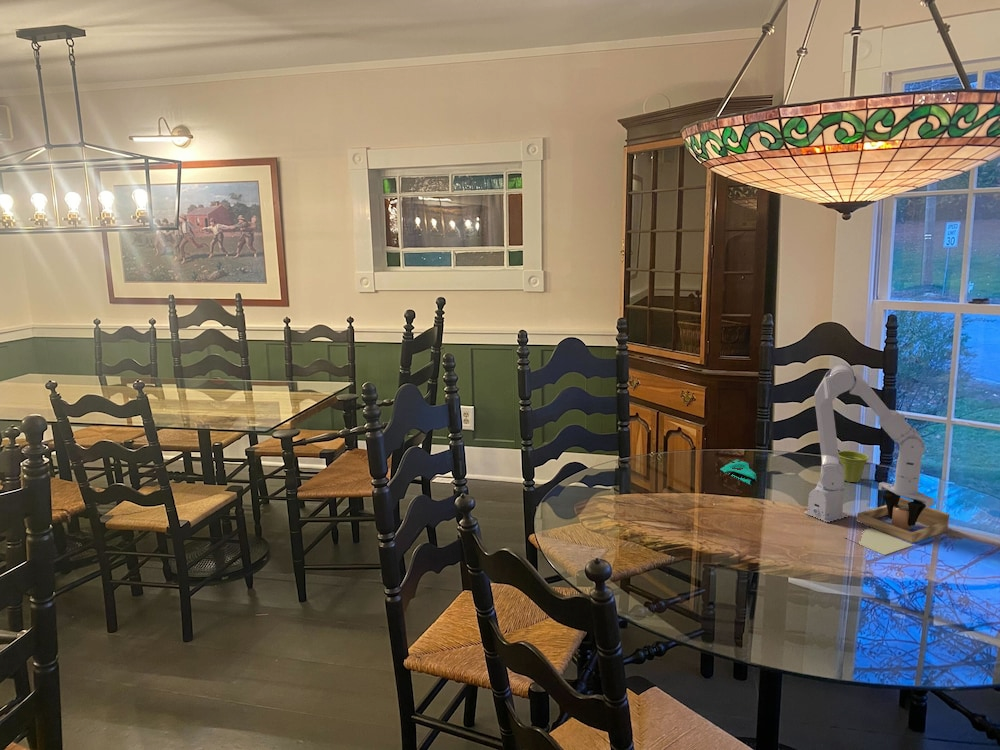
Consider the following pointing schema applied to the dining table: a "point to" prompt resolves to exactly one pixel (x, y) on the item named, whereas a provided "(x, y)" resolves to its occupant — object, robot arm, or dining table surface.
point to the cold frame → (927, 516)
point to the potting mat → (882, 542)
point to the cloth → (744, 471)
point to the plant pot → (852, 465)
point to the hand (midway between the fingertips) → (901, 521)
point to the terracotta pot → (900, 517)
